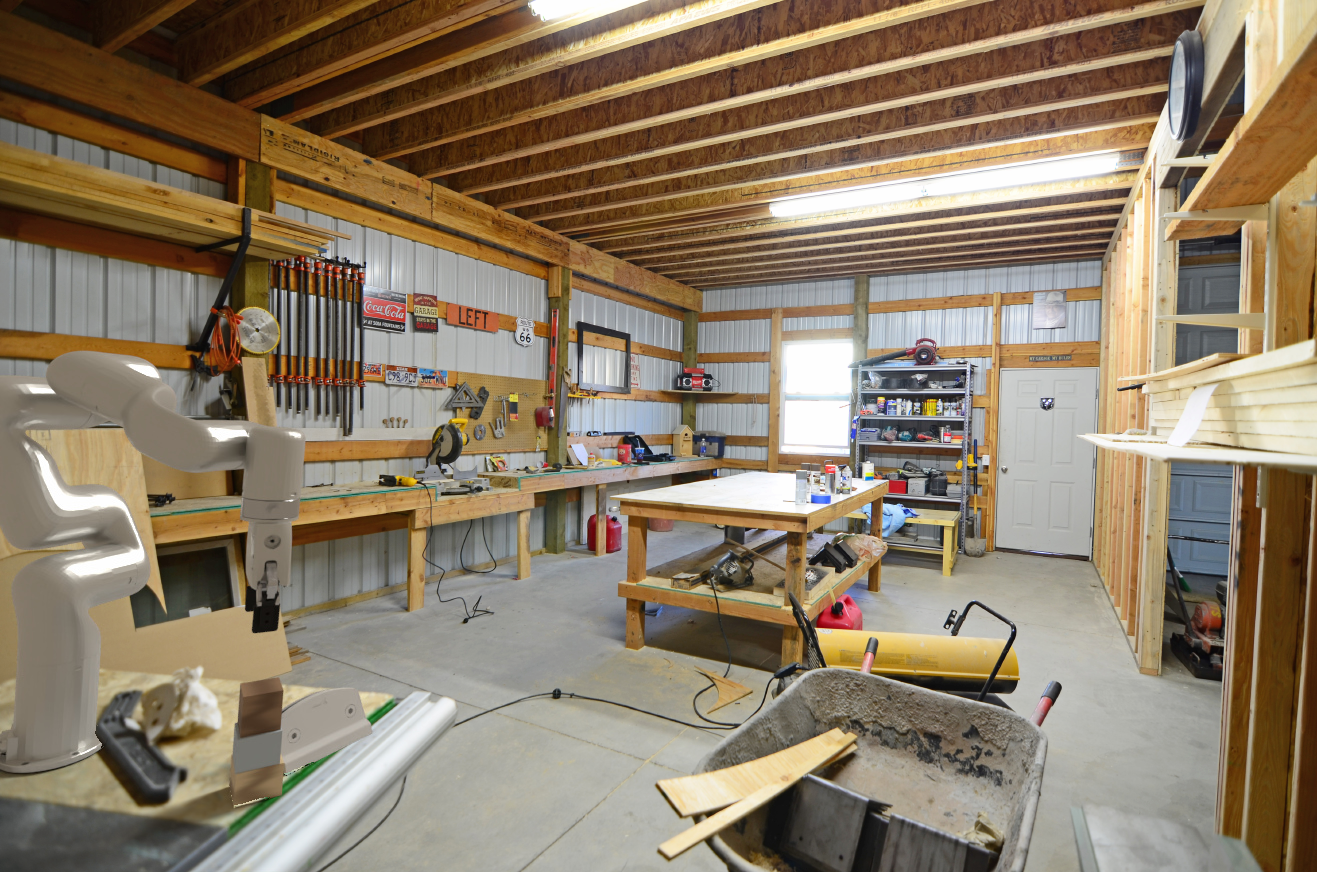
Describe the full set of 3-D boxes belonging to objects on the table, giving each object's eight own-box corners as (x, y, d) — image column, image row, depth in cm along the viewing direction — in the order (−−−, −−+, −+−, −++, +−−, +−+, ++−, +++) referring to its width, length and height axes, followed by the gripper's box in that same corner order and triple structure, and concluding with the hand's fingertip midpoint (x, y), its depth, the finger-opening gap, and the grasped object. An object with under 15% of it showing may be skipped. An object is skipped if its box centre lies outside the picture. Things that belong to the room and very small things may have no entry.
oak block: (233, 808, 89) (235, 774, 89) (229, 786, 94) (231, 754, 93) (281, 795, 93) (284, 762, 93) (275, 774, 97) (277, 743, 97)
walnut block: (240, 737, 89) (243, 697, 89) (237, 722, 93) (240, 683, 93) (280, 729, 92) (283, 690, 92) (276, 714, 96) (279, 677, 96)
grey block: (235, 773, 89) (237, 739, 89) (232, 755, 93) (234, 722, 93) (279, 763, 92) (282, 730, 92) (275, 745, 97) (277, 714, 97)
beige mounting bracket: (284, 776, 97) (274, 711, 98) (265, 777, 99) (256, 713, 100) (374, 732, 112) (365, 676, 113) (356, 733, 114) (348, 678, 115)
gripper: (309, 519, 89) (298, 636, 90) (290, 498, 102) (280, 600, 103) (246, 521, 84) (236, 644, 85) (235, 498, 98) (226, 605, 98)
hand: (260, 620), depth 94 cm, fingers open, 9 cm apart
